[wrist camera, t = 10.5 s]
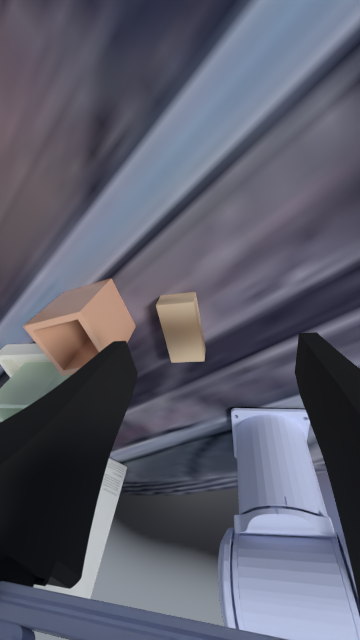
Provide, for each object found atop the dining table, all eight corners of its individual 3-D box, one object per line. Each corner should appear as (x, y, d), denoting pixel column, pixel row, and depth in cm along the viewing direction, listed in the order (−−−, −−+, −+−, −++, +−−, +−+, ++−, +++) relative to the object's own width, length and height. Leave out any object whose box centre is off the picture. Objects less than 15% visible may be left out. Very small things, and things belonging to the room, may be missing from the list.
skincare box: (67, 456, 39) (-10, 601, 27) (84, 441, 36) (6, 599, 23) (111, 478, 41) (60, 623, 29) (131, 466, 38) (84, 624, 25)
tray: (107, 400, 30) (101, 413, 28) (43, 399, 32) (34, 411, 30) (80, 341, 25) (71, 353, 24) (6, 344, 27) (-6, 355, 25)
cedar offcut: (205, 346, 23) (204, 361, 22) (175, 348, 24) (171, 362, 22) (196, 290, 20) (193, 302, 19) (161, 293, 21) (155, 305, 19)
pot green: (83, 394, 28) (56, 439, 24) (46, 393, 29) (13, 436, 25) (66, 361, 26) (32, 405, 21) (25, 362, 27) (-15, 403, 22)
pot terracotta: (136, 325, 23) (114, 366, 19) (91, 335, 25) (61, 375, 20) (111, 277, 21) (80, 311, 16) (64, 291, 22) (22, 326, 18)
